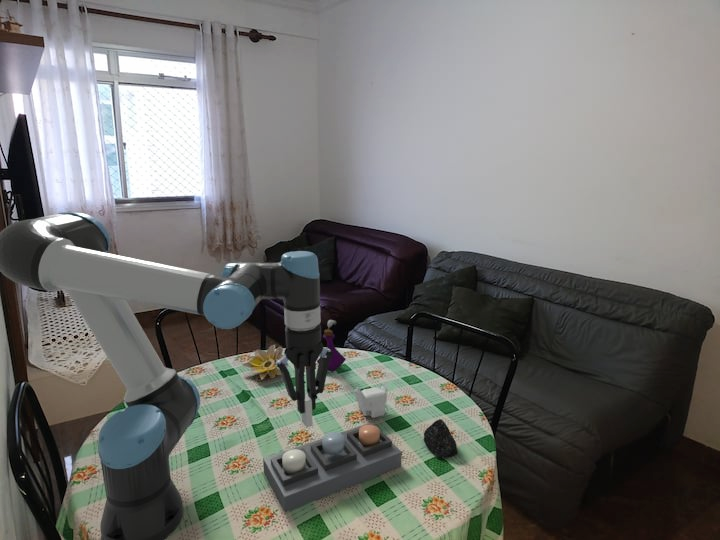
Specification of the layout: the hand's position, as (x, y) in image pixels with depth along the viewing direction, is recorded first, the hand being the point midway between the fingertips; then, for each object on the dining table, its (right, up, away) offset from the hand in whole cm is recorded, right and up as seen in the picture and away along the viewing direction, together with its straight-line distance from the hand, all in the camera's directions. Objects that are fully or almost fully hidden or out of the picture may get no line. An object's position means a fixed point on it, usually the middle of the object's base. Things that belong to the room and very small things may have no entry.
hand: (307, 423), depth 99 cm
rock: (+33, -12, +17) cm, 39 cm away
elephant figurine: (+16, -8, +31) cm, 36 cm away
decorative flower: (-21, -1, +55) cm, 58 cm away
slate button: (+6, -8, +6) cm, 11 cm away
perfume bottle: (+2, -1, +58) cm, 58 cm away
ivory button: (-3, -10, +2) cm, 11 cm away
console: (+5, -14, +8) cm, 17 cm away
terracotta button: (+14, -8, +11) cm, 20 cm away
